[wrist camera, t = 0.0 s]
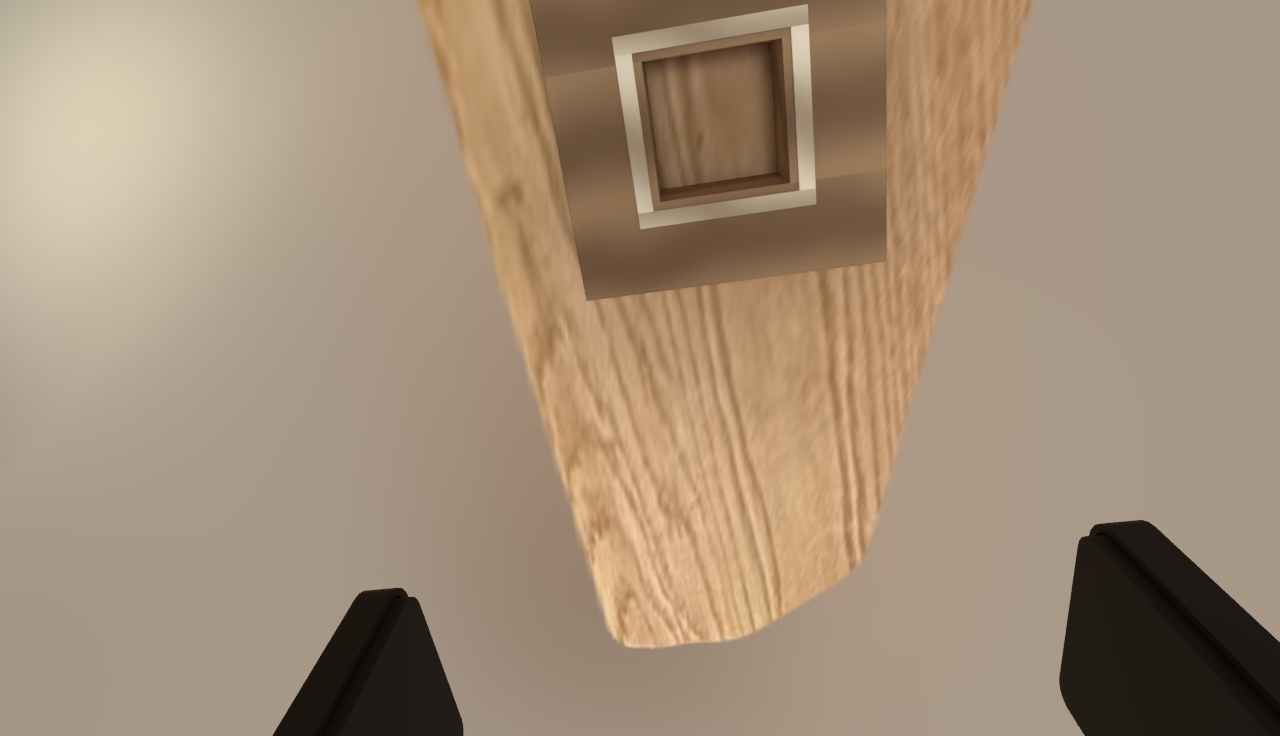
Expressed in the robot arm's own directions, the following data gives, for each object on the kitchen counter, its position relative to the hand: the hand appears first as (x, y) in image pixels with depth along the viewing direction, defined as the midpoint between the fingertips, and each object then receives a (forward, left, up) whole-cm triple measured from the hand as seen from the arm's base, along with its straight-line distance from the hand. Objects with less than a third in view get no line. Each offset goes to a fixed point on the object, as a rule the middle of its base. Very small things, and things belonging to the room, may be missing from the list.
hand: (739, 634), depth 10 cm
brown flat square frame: (-5, +2, -31) cm, 32 cm away
